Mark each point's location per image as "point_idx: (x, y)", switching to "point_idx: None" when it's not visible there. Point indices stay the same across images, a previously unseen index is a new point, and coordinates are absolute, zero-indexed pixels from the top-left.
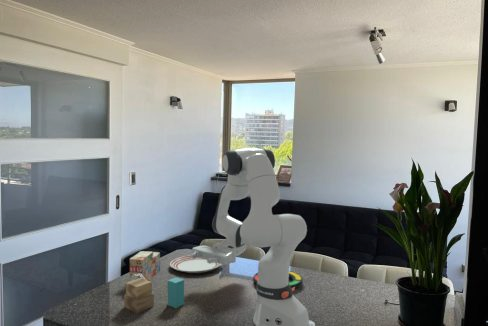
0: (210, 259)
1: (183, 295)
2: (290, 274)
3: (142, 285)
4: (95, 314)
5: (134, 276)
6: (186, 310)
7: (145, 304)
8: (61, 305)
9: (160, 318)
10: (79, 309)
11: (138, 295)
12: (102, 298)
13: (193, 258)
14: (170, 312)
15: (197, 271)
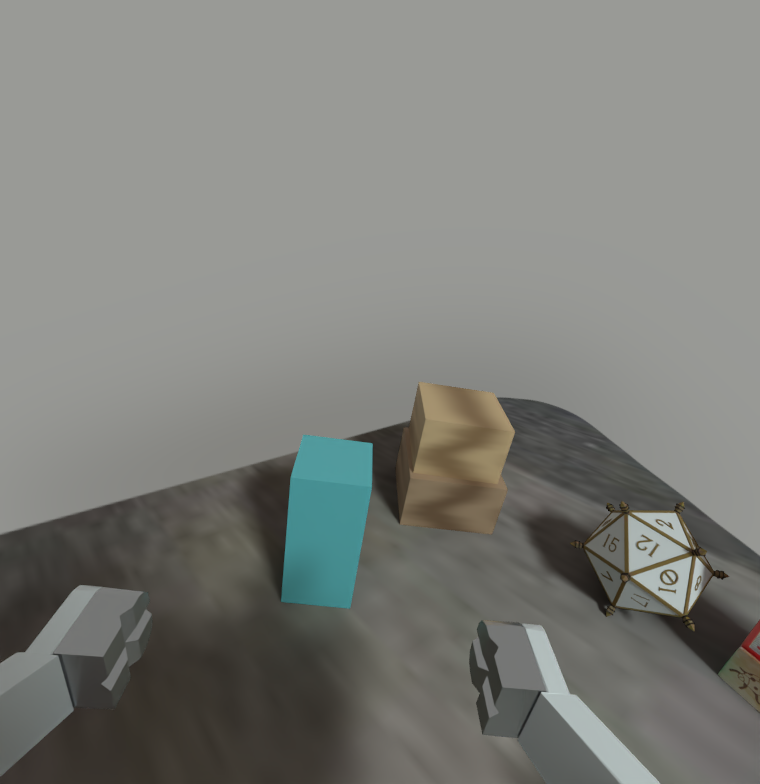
0: (68, 598)
1: (285, 558)
2: None
3: (420, 394)
4: None
5: (648, 511)
6: (222, 554)
7: (401, 475)
8: (598, 431)
9: (288, 470)
10: (542, 432)
11: (411, 418)
12: (600, 490)
13: (471, 656)
14: (285, 512)
15: None
